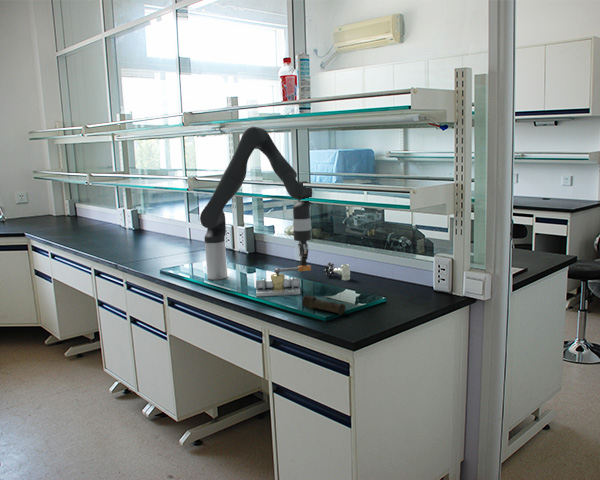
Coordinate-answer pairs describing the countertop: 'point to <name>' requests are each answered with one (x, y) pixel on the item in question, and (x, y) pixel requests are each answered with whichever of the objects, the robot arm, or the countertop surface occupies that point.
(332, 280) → the countertop surface
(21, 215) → the countertop surface
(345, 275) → the valve
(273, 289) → the valve manifold
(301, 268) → the valve lever
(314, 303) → the hand tool
